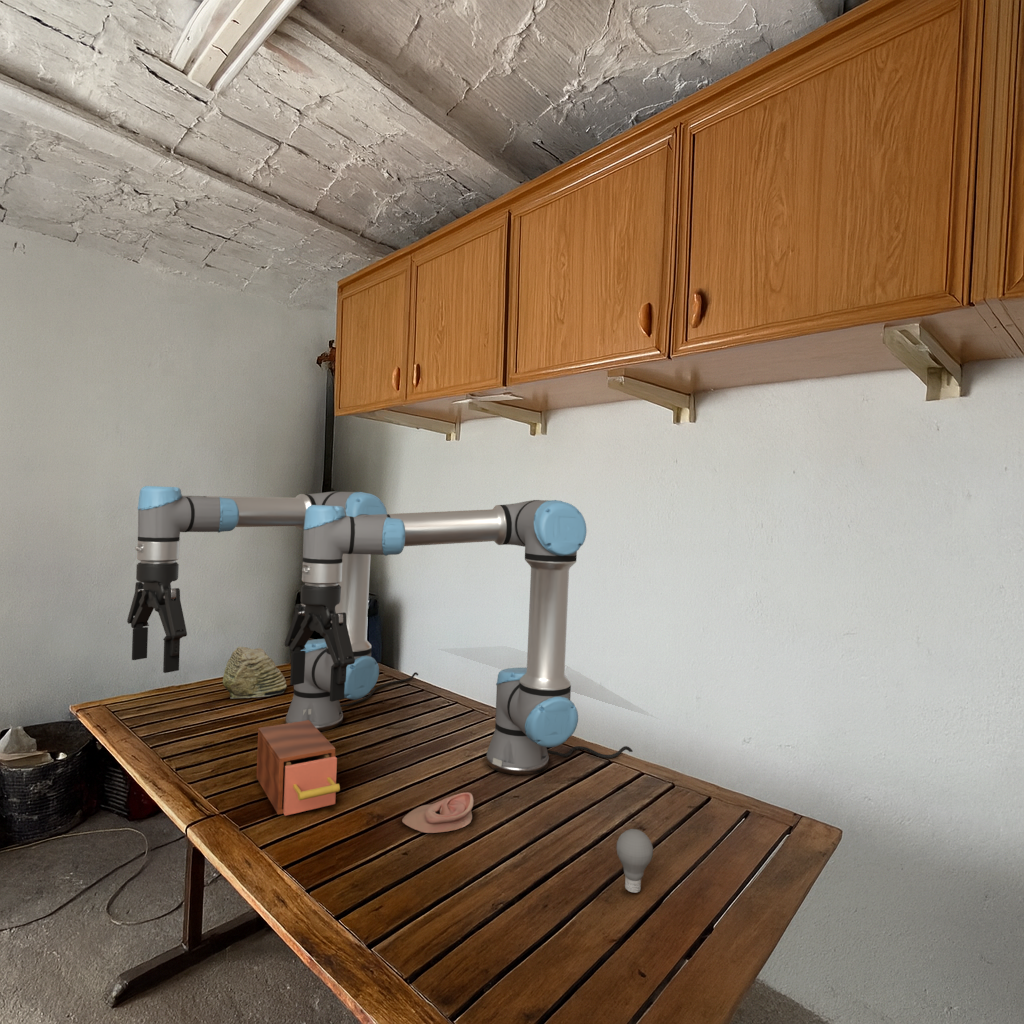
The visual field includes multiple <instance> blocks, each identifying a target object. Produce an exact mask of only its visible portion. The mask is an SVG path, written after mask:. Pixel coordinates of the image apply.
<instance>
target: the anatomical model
mask: <svg viewBox="0 0 1024 1024" xmlns="http://www.w3.org/2000/svg"><path fill="white" fill-rule="evenodd" d="M473 807H474V796H473V794H472V793H471V792H467V791H466V792H461V793H456V794H453V795H450V796H448V797H445V798H443V799H441V800H439V801H436V802H434V803H431V804H430V803H429V804H423V805H421V806H418V807H416V808H414V809H412V810H411V811H409V812H408V813H407V814H405V816H403V817H402V820H401V821H402V823H403V824H404V825H405V826H406V827H409V828H410V829H412V830H415V831H418V832H421V833H424V834H435V833H437V834H438V833H446V832H452V831H456V830H459V829H463V828H464V827H466V826H468V825H470V824H471V822H472V820H473V813H472V809H474V808H473Z"/></svg>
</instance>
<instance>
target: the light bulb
mask: <svg viewBox="0 0 1024 1024" xmlns="http://www.w3.org/2000/svg"><path fill="white" fill-rule="evenodd" d="M615 849H616V854H617V857H618V859H619V861H620V863H621V865H622V867H623V873H624V874H623V875H624V876H625V878H624V888H625V890H627V891H628V892H630V893H634V894H635V893H639V892H640V891H641V889H642V887H641V886H642V879H643V877H644V875H645V871H646V868H647V867H648V866H649V864H650V863H651V861H652V859H653V855H654V847H653V843H652V841H651V838H649V836H648V835H647V834H646V833H645V832H643V831H642V830H641V829H636V828H629V829H627V830H625V831H623V832H622V833H621V834H620V835H619V837H618V839H617V841H616V847H615Z"/></svg>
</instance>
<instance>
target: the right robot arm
mask: <svg viewBox="0 0 1024 1024" xmlns="http://www.w3.org/2000/svg"><path fill="white" fill-rule="evenodd" d="M587 531H588V530H587V523H586V520H585V518H584V516H583V514H582V512H581V511H580V510H579V509H578V508H577V507H576V506H574V505H573V504H572V503H570V502H566V501H563V500H557V499H552V500H551V499H549V500H547V499H545V500H543V499H531V500H526V501H521V502H515V503H508V504H507V503H506V504H496V505H494V506H493V508H492V509H471V510H447V511H426V512H425V511H423V512H403V513H387V514H377V515H368V514H359V515H357V516H355V517H351V516H346V514H345V509H344V507H342V506H328V505H311V506H309V507H308V508H307V509H306V513H305V523H304V530H303V538H302V539H303V540H302V568H301V581H302V582H303V584H302V585H301V586H300V603H296V604H295V607H294V614H293V617H292V620H291V622H290V626H289V628H288V632H287V634H286V638H285V640H284V647H286V648H288V650H289V652H290V674H289V675H290V676H289V677H290V678H289V685H290V686H294V685H296V684H301V683H304V672H305V652H306V651H301V650H304V649H306V648H305V645H306V643H307V641H308V640H310V638H311V637H312V635H313V634H314V632H316V633H318V634H319V635H320V636H321V637H322V638H323V639H325V642H326V645H327V647H328V650H329V652H330V655H331V658H332V660H333V663H334V664H333V665H332V666H331V681H330V701H331V702H333V701H337V700H339V701H341V700H344V699H345V698H344V688H345V682H346V668H347V665H350V664H354V663H355V659H354V654H353V650H352V646H351V641H350V637H349V633H348V629H347V624H346V613H345V612H343V613H336V611H335V606H336V605H337V604H339V603H340V600H341V586H340V585H338V583H340V582H341V581H342V557H343V554H371V555H373V556H374V555H377V556H378V555H380V556H385V557H387V556H393V555H396V556H397V555H400V554H401V553H402V552H403V551H404V548H405V547H417V546H419V547H420V546H435V545H451V544H453V545H454V544H465V543H466V544H468V543H469V544H470V543H471V544H472V543H485V542H494V543H495V544H496V545H498V546H504V545H505V546H508V545H509V546H518V547H524V561H525V562H526V563H527V564H528V565H529V567H530V581H529V582H530V583H529V608H528V630H527V631H528V632H527V653H526V654H527V656H526V658H527V660H526V667H508V668H504V669H501V670H500V671H499V672H498V674H497V679H496V683H495V685H496V694H495V695H496V696H495V723H494V725H495V726H494V732H493V735H492V738H491V740H490V743H489V744H488V745H489V746H488V748H487V751H486V761H485V762H486V764H487V766H489V768H490V769H492V770H494V771H496V772H499V773H502V774H506V775H511V776H512V775H513V776H529V775H535V774H539V773H541V772H544V770H546V769H547V768H548V766H549V759H550V757H549V756H550V755H552V756H553V755H554V756H558V757H561V758H568V757H570V756H571V755H572V754H573V753H574V752H575V751H585V752H587V753H590V754H592V755H593V756H596V757H598V758H602V759H615V758H616V757H619V756H620V755H621V754H622V753H623V752H624V751H628V752H629V753H633V749H632V748H631V747H629V746H627V745H624V746H622V747H621V748H619V750H617V752H614V753H612V754H603V753H600V752H598V751H596V750H593V749H591V748H590V747H587V746H580V745H576V746H575V745H574V746H572V747H571V748H570V749H569V750H568V752H566V753H562V752H559V751H556V750H550V749H548V748H556V747H558V746H561V745H563V744H565V743H566V742H567V741H568V739H569V738H571V737H572V736H573V734H575V731H576V729H577V727H578V723H579V713H578V709H577V707H576V705H575V703H574V702H573V701H572V700H571V696H572V695H571V692H572V681H571V680H570V679H569V678H568V677H567V676H566V674H565V673H566V671H565V670H566V650H567V649H566V648H567V627H568V626H567V625H568V605H569V604H568V603H569V584H570V583H569V581H570V569H571V568H572V567H573V566H574V565H575V564H576V563H577V557H578V554H577V553H578V551H579V550H580V548H581V547H582V546H583V545H584V543H585V541H586V537H587ZM347 657H348V658H347ZM339 659H340V660H339Z"/></svg>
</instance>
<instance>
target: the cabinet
mask: <svg viewBox="0 0 1024 1024" xmlns="http://www.w3.org/2000/svg"><path fill="white" fill-rule="evenodd" d="M256 754H257V755H256V778H255V779H256V780H257V781H258V783H259V785H260V786H261V788H262V790H263V791H264V794H265V795H266V797H267V799H268V800H269V802H270V804H271V805H272V807H273V809H274V811H275V812H276V814H277V815H282V814H283V815H284V813H283V810H284V805H283V803H282V797H283V771H284V762H286V761H291V760H296V759H302V758H307V757H312V756H318V755H323V754H329V756H330V757H336V748H335V746H334V745H333V744H332V743H331V742H330V741H329V740H328V739H327V738H326V737H325V735H324V734H323V733H322V732H321V731H319V730H318V729H317V728H316V727H315V726H314V725H313V724H312V723H311V722H310V721H309V720H306V721H300V722H294V723H287V724H286V723H281V724H276V725H269V726H263V727H262V726H261V727H258V728H257V753H256Z"/></svg>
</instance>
